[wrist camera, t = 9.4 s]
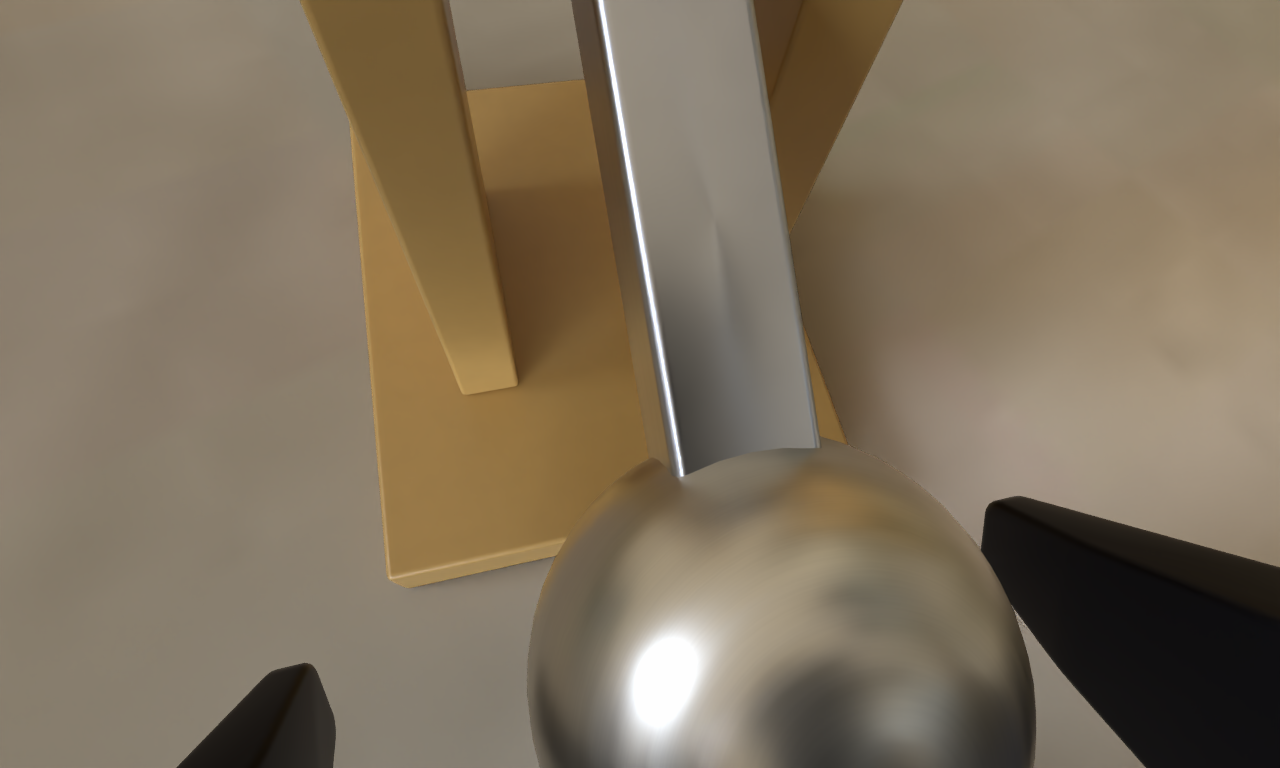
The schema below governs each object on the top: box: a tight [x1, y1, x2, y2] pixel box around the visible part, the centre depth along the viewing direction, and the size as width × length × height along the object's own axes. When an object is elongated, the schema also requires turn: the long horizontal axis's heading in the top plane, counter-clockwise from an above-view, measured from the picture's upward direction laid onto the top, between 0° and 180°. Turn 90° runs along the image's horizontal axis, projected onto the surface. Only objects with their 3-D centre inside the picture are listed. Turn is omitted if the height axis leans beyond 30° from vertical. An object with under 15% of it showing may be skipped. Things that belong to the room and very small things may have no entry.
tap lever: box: [527, 0, 1036, 768], centre depth 5 cm, size 11×4×4 cm, turn 12°
